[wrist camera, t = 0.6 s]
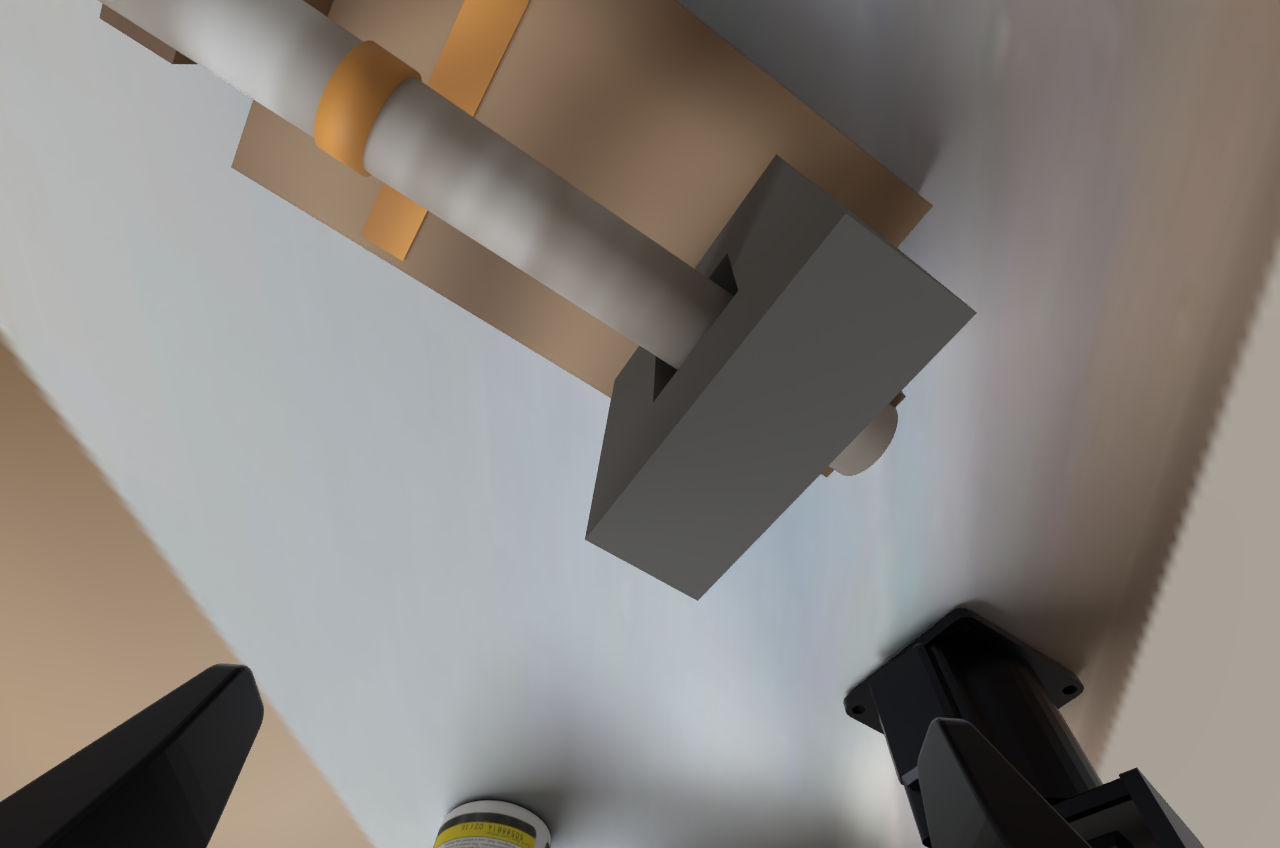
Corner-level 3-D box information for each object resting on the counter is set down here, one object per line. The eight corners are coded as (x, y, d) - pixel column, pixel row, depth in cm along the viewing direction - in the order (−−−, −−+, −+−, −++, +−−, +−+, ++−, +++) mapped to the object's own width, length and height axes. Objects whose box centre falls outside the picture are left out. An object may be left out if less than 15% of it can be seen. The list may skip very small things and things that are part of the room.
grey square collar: (859, 217, 15) (977, 312, 9) (689, 425, 18) (697, 600, 12) (776, 154, 14) (845, 212, 9) (614, 379, 17) (585, 539, 11)
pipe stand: (925, 203, 17) (1064, 279, 11) (719, 445, 21) (738, 601, 15) (376, -232, 14) (135, -476, 8) (246, 154, 17) (15, 202, 11)
